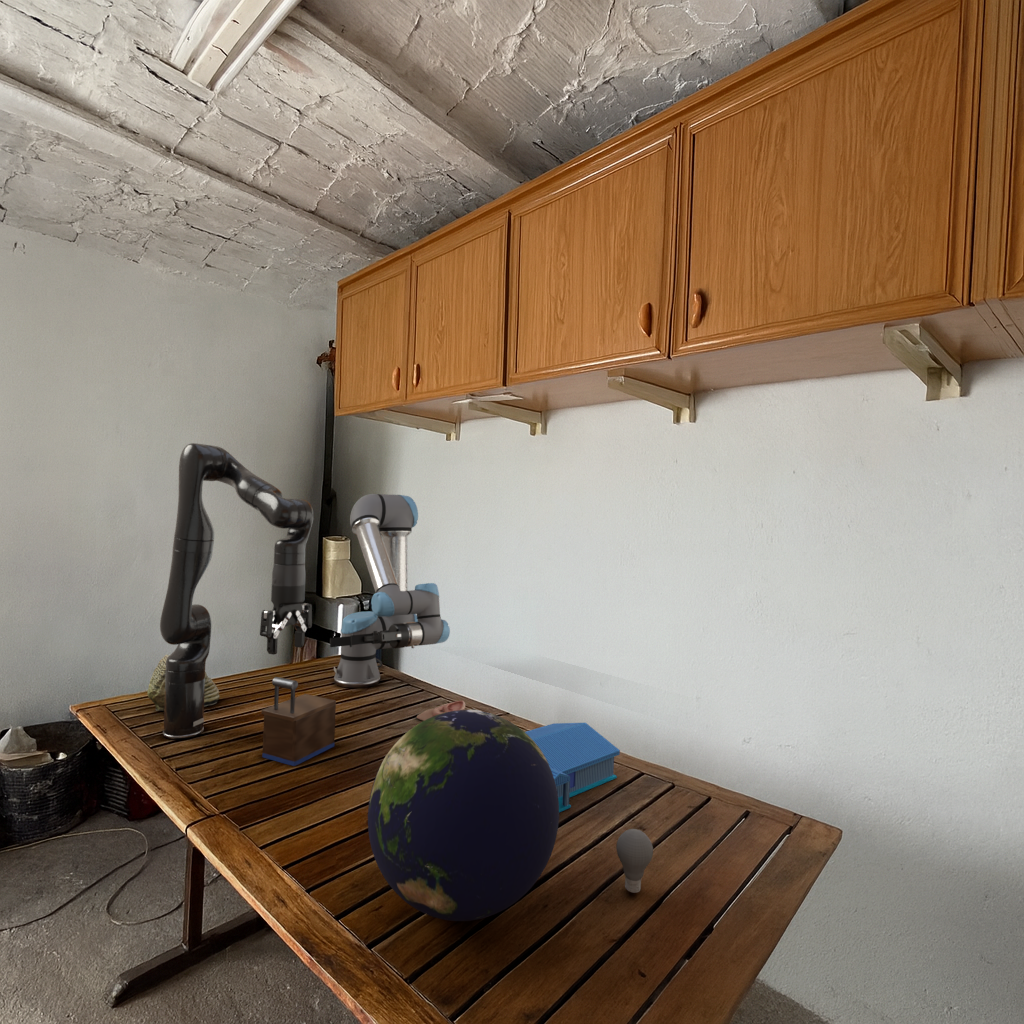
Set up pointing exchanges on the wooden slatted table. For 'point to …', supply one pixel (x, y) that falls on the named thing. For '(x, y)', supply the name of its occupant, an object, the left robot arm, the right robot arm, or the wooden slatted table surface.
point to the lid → (295, 702)
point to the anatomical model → (442, 710)
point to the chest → (298, 736)
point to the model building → (575, 757)
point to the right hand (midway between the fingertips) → (340, 641)
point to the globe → (463, 815)
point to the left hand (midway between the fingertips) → (286, 650)
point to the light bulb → (634, 857)
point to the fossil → (158, 687)
